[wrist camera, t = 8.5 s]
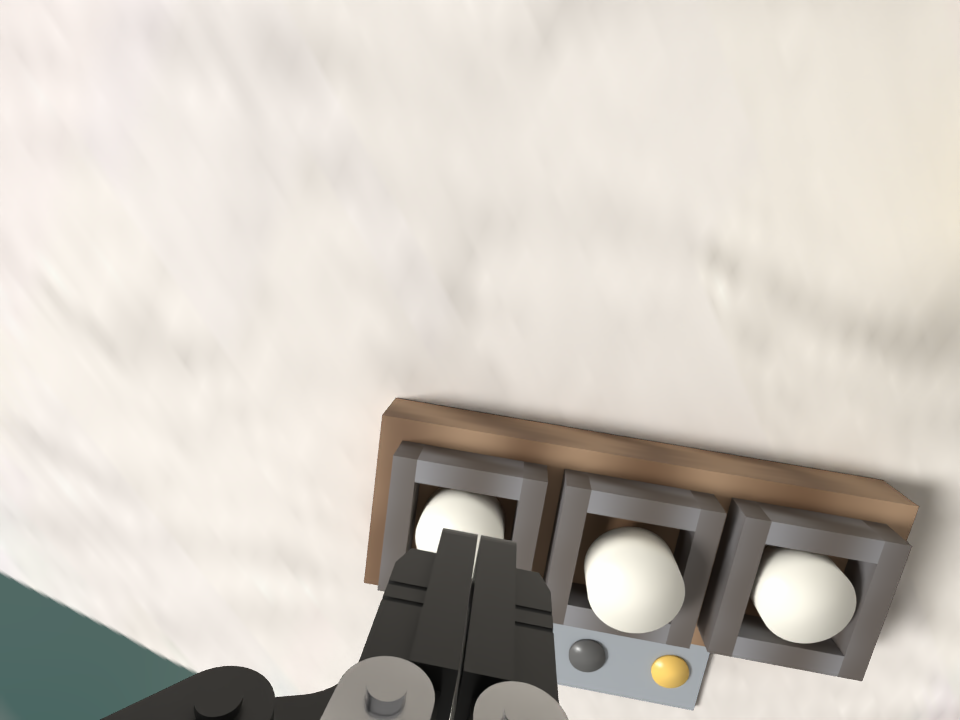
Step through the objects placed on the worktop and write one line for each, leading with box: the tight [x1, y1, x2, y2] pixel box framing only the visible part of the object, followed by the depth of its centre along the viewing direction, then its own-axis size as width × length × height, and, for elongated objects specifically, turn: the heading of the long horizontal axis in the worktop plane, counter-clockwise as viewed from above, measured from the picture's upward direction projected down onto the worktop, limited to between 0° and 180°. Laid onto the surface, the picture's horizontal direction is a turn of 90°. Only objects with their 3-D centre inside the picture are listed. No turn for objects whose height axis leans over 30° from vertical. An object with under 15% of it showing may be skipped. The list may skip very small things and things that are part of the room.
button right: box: [750, 545, 856, 643], centre depth 29 cm, size 4×4×2 cm
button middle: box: [584, 527, 685, 633], centre depth 27 cm, size 4×4×2 cm
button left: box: [415, 487, 505, 578], centre depth 29 cm, size 4×4×2 cm
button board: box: [364, 398, 919, 681], centre depth 31 cm, size 27×10×5 cm, turn 82°
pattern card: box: [553, 623, 710, 710], centre depth 35 cm, size 14×5×1 cm, turn 82°
